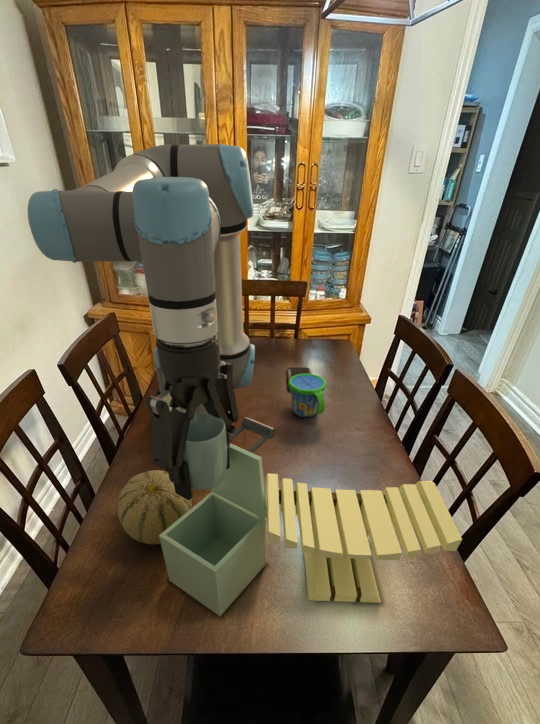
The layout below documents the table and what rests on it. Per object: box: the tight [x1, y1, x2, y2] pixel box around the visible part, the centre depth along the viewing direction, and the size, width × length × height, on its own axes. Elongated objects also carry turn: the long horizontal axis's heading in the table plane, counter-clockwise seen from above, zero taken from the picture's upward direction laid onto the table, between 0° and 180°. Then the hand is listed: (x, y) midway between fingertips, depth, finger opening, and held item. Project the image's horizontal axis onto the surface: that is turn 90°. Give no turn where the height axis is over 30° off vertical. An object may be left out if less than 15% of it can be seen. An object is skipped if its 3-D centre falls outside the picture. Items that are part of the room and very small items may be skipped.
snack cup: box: [288, 373, 327, 418], centre depth 122 cm, size 16×10×10 cm
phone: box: [287, 366, 311, 390], centre depth 140 cm, size 8×1×15 cm
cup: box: [183, 412, 227, 491], centre depth 60 cm, size 8×8×10 cm
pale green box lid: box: [209, 416, 277, 520], centre depth 73 cm, size 14×13×9 cm
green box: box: [159, 491, 267, 617], centre depth 76 cm, size 14×13×13 cm
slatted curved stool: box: [265, 473, 463, 604], centre depth 75 cm, size 30×16×18 cm, turn 90°
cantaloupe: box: [116, 469, 193, 545], centre depth 83 cm, size 15×15×15 cm
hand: (203, 479), depth 64 cm, fingers closed on cup, 8 cm apart
